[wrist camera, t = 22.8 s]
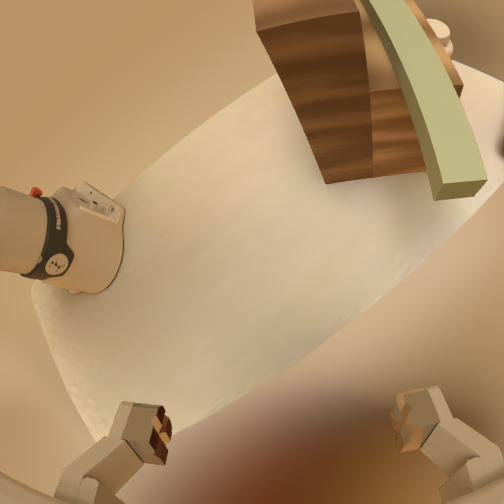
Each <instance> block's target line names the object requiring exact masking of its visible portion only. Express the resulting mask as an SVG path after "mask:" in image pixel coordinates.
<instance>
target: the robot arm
mask: <svg viewBox="0 0 504 504" xmlns="http://www.w3.org/2000/svg"><path fill="white" fill-rule="evenodd" d="M41 195H42V191H41V190H40V189H39V188H37V187H33V188H32V190H31V193H30V195H26V194H24V193H21V192H18V191H15V190H12V189H9V188H7V187H4V186H0V271H7V272H14V273H19V274H20V275H22V276H23V277H27V278H30V279H38V280H41V281H42V282H43V283H46V284H49V285H53V286H57V287H62V288H66V289H67V290H68V292H69V293H71V294H78V293H80V292H86V293H90V294H95V293H99V292H101V291H102V290H104V289H105V288H106V287H107V286H108V285H109V284H110V283H111V282H112V280H113V279H114V277H115V275H116V273H117V271H118V268H119V265H120V262H121V258H122V252H123V235H122V224H123V219H124V213H125V211H124V208H123V207H122V206H121V205H119V204H118V203H116V202H115V201H113V200H112V199H110V198H109V197H107V196H106V195H104V194H103V193H101V192H100V191H98V190H97V189H95V188H94V187H92V186H91V185H89V184H88V183H85V182H81V183H80V184H78V185H77V186H76V187H75V188H74V189H73V190H71V189H68V188H64V187H62V188H60V189H59V190H57V191H56V192H55V193H54V194H53V195H52V196H51V197H40V196H41ZM396 401H397V403H396V404H394V405H393V406H392V409H391V414H390V420H391V425H392V429H394V430H395V431H396V432H397V433H398V434H397V436H396V439H395V440H396V443H397V446H398V450H399V453H403V452H408V451H412V450H416V449H420V448H421V449H420V450H421V451H422V452H423V453H424V454H425V455H426V456H427V457H428V458H429V459H430V460H431V461H432V462H433V463H434V464H435V465H436V466H437V467H439V468H440V469H441V470H442V471H443V472H444V473H445V474H446V475H447V476H448V477H449V479H448V480H447V481H446V482H445V483H444V484H443V485H442V486H441V487H440V488H439V491H440V495H441V499H442V502H443V504H504V459H503V457H502V454H501V452H500V450H499V447H498V446H497V445H495V444H494V443H492V442H491V441H489V440H488V439H486V438H485V437H483V436H482V435H481V434H479V433H477V432H476V431H475V430H473V429H472V428H471V427H469V426H468V425H466V424H465V423H463V422H462V421H460V420H459V419H457V418H454V419H453V416H452V415H451V412H450V410H449V407H448V405H447V403H446V401H445V398H444V396H443V394H442V392H441V390H440V388H439V386H438V385H432V386H428V387H423V388H418V389H414V390H409V391H405V392H400V393H399V394H398V395H397V397H396ZM171 435H172V425H171V421H170V419H169V417H167V416H166V415H165V409H164V407H163V406H161V405H150V404H140V403H134V402H125V401H123V402H122V403H121V404H120V405H119V408H118V411H117V413H116V416H115V419H114V422H113V425H112V427H111V430H110V433H109V436H108V437H103V438H102V439H101V440H100V441H98V442H97V443H96V444H95V445H94V446H92V447H91V448H90V449H88V450H87V451H86V452H85V453H83V454H82V455H81V456H80V457H78V458H77V459H76V460H75V461H73V462H72V463H71V464H69V465H68V466H67V467H65V468H64V469H63V472H62V475H61V477H60V480H59V483H58V486H57V488H56V491H55V494H54V497H52V496H50V495H47V494H45V493H43V492H40V491H38V490H36V489H34V488H32V487H29V486H27V485H25V484H23V483H21V482H19V481H17V480H15V479H13V478H11V477H9V476H8V475H6V474H4V473H2V472H0V504H125V503H124V502H123V501H122V500H121V499H119V498H118V497H117V496H115V494H116V493H117V492H118V491H119V490H120V489H121V488H122V487H123V486H124V485H125V483H127V482H128V481H129V479H130V478H131V477H132V476H133V475H134V474H135V473H136V472H137V471H138V470H139V469H140V468H141V467H142V466H143V464H144V463H148V464H156V465H165V464H166V459H167V454H168V449H167V447H166V446H165V445H166V444H167V443H168V442H169V441H170V440H171Z"/></svg>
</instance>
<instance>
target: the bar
mask: <svg viewBox="0 0 504 504" xmlns="http://www.w3.org/2000/svg"><path fill="white" fill-rule="evenodd" d="M360 2H361V4H362V6H363V7H364V9H365V11H366V13H367V15H368V17H369V19H370V21H371V23H372V24H373V26H374V28H375V30H376V33H377V35H378V37H379V39H380V41H381V43H382V45H383V47H384V49H385V52H386V54H387V56H388V58H389V61H390V63H391V65H392V68H393V70H394V73H395V75H396V77H397V80H398V82H399V85H400V88H401V90H402V93H403V96H404V98H405V101H406V104H407V107H408V109H409V112H410V115H411V118H412V121H413V124H414V127H415V131H416V134H417V137H418V140H419V144H420V147H421V151H422V154H423V158H424V161H425V165H426V169H427V173H428V177H429V181H430V185H431V190H432V194H433V199H434V201H437V200H446V199H455V198H464V197H474V196H475V194H476V193H477V192H478V191H479V190H480V189H481V187H482V186H483V185H484V184H485V182H486V181H487V180H488V178H487V174H486V171H485V168H484V164H483V161H482V158H481V155H480V152H479V149H478V146H477V143H476V140H475V137H474V135H473V132H472V129H471V126H470V124H469V121H468V119H467V116H466V114H465V111H464V109H463V107H462V104H461V102H460V100H459V97H458V95H457V93H456V91H455V88H454V86H453V84H452V82H451V80H450V78H449V76H448V74H447V72H446V70H445V68H444V66H443V64H442V62H441V60H440V58H439V56H438V55H437V53H436V51H435V49H434V47H433V46H432V44H431V42H430V40H429V39H428V37H427V35H426V34H425V32H424V30H423V29H422V27H421V25H420V24H419V22H418V21H417V19H416V17H415V16H414V14H413V13H412V11H411V10H410V8H409V7H408V5H407V4H406V3H405V1H404V0H360Z"/></svg>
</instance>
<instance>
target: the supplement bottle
mask: <svg viewBox="0 0 504 504" xmlns="http://www.w3.org/2000/svg"><path fill="white" fill-rule="evenodd" d="M426 20H427V21H428V23H429V24H430V26H431V27H432V29H433V31H434V32H435V34H436V35H437V37H438V39H439V40H440V42H441V44H442V45H443V47H444V49H445V51H446V52H447V54H448V56H449V58H450V59H451V60H452V54H453V45H452V43H451V41H450V40H449V38H450V31H449V28H448V27H447V26H446V25H445V24H444V23H442V22H440V21H438V20H434V19H426Z"/></svg>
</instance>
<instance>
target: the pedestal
mask: <svg viewBox="0 0 504 504" xmlns="http://www.w3.org/2000/svg"><path fill="white" fill-rule="evenodd" d="M404 1H405V3H406V4H407V5H408V7H409V8H410V10H411V11H412V13H413V14H414V16H415V17H416V19H417V21H418V22H419V24H420V25H421V27H422V29H423V30H424V32H425V34H426V35H427V37H428V39H429V40H430V42H431V44H432V46H433V47H434V49H435V51H436V53H437V55H438V56H439V58H440V60H441V62H442V64H443V66H444V68H445V70H446V72H447V74H448V76H449V78H450V80H451V82H452V84H453V86H454V88H455V91H456V93H457V95H458V97H459V99H460V95H461V92H462V89H463V83H462V81H461V79H460V77H459V75H458V73H457V71H456V69H455V67H454V65H453V63H452V61H451V59H450V58H449V56H448V54H447V52H446V51H445V49H444V47H443V45H442V44H441V42H440V40H439V39H438V37H437V35H436V34H435V32H434V31H433V29H432V27H431V26H430V24H429V23H428V21H427V20H426V18H425V17H424V15H423V14H422V12H421V11H420V10H419V8H418V7H417V5H416V4H415V3H414V1H413V0H404ZM253 6H254V15H255V24H256V32H257V34H258V35H259V37H260V39H261V41H262V43H263V45H264V47H265V49H266V51H267V53H268V55H269V57H270V59H271V61H272V63H273V65H274V67H275V69H276V71H277V73H278V75H279V77H280V79H281V81H282V83H283V85H284V88H285V90H286V92H287V94H288V96H289V98H290V100H291V103H292V105H293V107H294V109H295V111H296V114H297V116H298V118H299V120H300V123H301V125H302V127H303V130H304V132H305V134H306V137H307V139H308V141H309V144H310V146H311V149H312V151H313V153H314V156H315V158H316V161H317V163H318V166H319V168H320V171H321V173H322V176H323V178H324V181H325V184H330V183H336V182H343V181H350V180H357V179H365V178H372V177H380V176H387V175H396V174H404V173H412V172H421V171H427V169H426V165H425V161H424V158H423V154H422V151H421V147H420V144H419V140H418V137H417V134H416V131H415V127H414V124H413V121H412V118H411V115H410V112H409V109H408V107H407V104H406V101H405V98H404V96H403V93H402V90H401V88H400V85H399V82H398V80H397V77H396V75H395V73H394V70H393V68H392V65H391V63H390V61H389V58H388V56H387V54H386V52H385V49H384V47H383V45H382V43H381V41H380V39H379V37H378V35H377V33H376V30H375V28H374V26H373V24H372V23H371V21H370V19H369V17H368V15H367V13H366V11H365V9H364V7H363V6H362V4H361V2H360V0H253Z"/></svg>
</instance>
